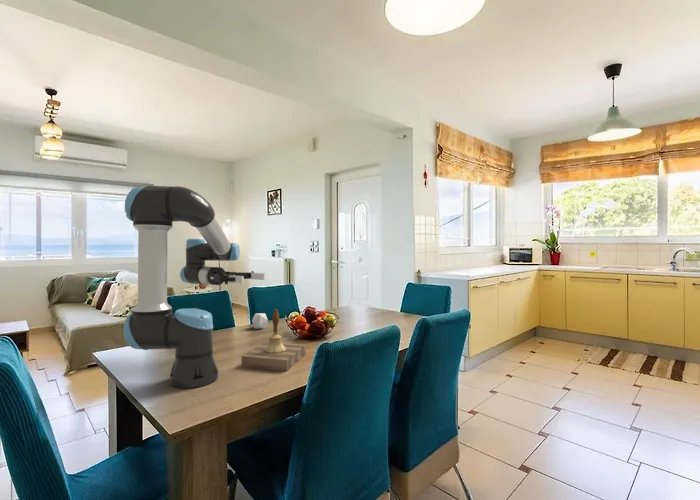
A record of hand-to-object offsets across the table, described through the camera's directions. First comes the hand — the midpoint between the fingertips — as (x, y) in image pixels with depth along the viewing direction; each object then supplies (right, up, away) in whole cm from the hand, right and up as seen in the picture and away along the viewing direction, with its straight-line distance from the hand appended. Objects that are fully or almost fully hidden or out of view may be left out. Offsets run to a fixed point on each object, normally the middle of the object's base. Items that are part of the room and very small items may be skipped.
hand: (254, 278), depth 147 cm
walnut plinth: (+9, -32, -3) cm, 33 cm away
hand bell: (+9, -28, -3) cm, 30 cm away
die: (-10, -31, +50) cm, 59 cm away
